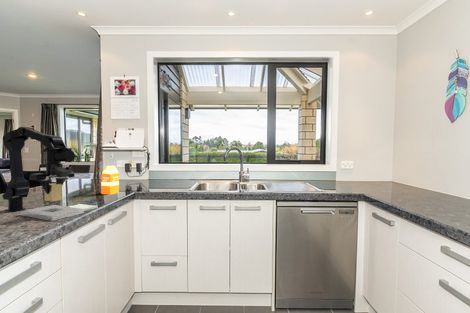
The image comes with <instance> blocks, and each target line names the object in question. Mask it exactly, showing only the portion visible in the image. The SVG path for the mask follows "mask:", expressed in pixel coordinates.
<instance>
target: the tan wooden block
mask: <svg viewBox="0 0 470 313" xmlns="http://www.w3.org/2000/svg"><path fill="white" fill-rule="evenodd" d="M62 196H63V185H62V184H58V183H56V182H55V183H49V194H47V193H46V192H45V191H44V201H45V202H57V201H62V200H63V197H62Z"/></svg>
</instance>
